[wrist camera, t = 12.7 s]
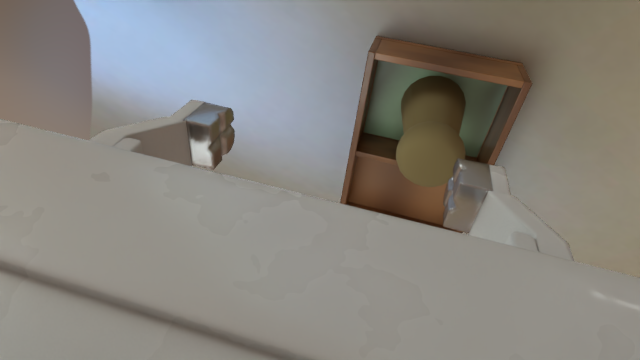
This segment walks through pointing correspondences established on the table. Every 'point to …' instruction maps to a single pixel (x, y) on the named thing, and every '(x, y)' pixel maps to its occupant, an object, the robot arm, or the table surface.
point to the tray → (386, 124)
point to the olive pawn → (431, 131)
